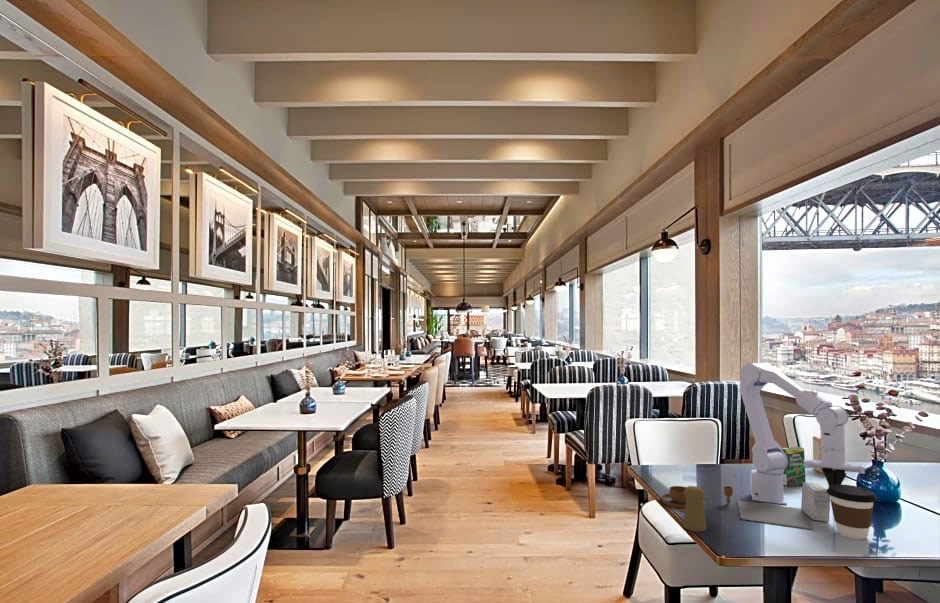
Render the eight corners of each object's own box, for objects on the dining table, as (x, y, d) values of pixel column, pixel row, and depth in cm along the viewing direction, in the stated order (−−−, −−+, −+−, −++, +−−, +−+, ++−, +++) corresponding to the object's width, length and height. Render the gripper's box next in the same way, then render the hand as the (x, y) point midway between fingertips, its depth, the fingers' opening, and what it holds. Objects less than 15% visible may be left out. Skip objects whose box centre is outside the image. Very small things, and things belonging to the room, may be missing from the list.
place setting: (668, 493, 174) (668, 476, 174) (734, 505, 163) (733, 486, 163) (654, 508, 159) (654, 489, 159) (726, 522, 148) (726, 501, 148)
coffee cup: (856, 527, 144) (855, 483, 144) (889, 543, 133) (887, 496, 134) (818, 527, 144) (816, 483, 144) (847, 543, 133) (846, 496, 133)
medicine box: (829, 522, 147) (831, 492, 147) (812, 520, 148) (814, 489, 148) (816, 512, 155) (818, 483, 155) (800, 510, 156) (802, 481, 156)
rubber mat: (740, 519, 149) (740, 518, 149) (737, 501, 164) (737, 500, 164) (813, 530, 141) (813, 528, 141) (802, 510, 157) (802, 508, 157)
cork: (705, 524, 145) (704, 485, 145) (707, 532, 139) (707, 491, 140) (682, 522, 147) (681, 482, 147) (683, 529, 141) (683, 489, 142)
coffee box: (786, 487, 180) (785, 449, 180) (780, 484, 182) (779, 447, 183) (806, 485, 181) (805, 448, 182) (799, 483, 184) (798, 446, 185)
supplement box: (819, 472, 198) (818, 438, 199) (812, 468, 203) (812, 435, 204) (842, 473, 197) (841, 438, 198) (835, 470, 202) (834, 436, 202)
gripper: (806, 448, 150) (807, 495, 149) (867, 453, 144) (868, 503, 143) (801, 443, 156) (802, 488, 155) (860, 448, 150) (861, 495, 149)
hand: (834, 495), depth 150 cm, fingers closed
